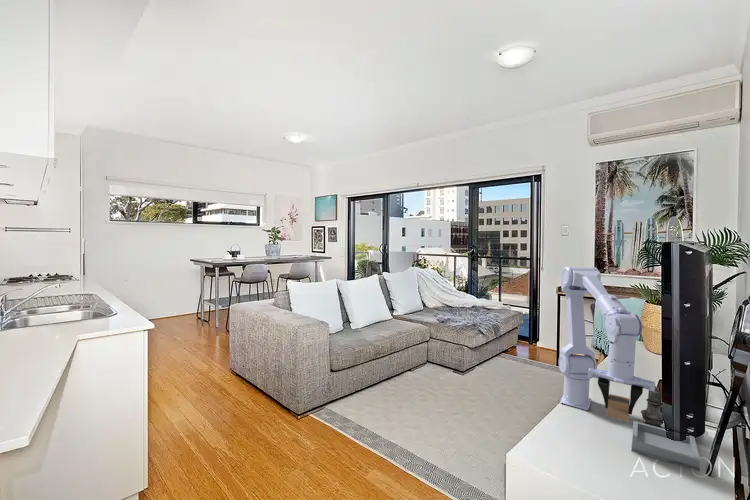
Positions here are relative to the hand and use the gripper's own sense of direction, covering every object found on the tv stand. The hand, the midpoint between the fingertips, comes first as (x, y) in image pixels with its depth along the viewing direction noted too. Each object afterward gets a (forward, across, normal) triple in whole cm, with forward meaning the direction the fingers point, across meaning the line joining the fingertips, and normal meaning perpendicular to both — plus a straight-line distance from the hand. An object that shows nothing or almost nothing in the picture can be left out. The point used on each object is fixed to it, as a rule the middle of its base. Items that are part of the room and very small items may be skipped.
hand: (618, 410), depth 98 cm
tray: (+8, +10, +4) cm, 13 cm away
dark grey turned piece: (+9, +8, +16) cm, 19 cm away
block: (+2, 0, 0) cm, 2 cm away
